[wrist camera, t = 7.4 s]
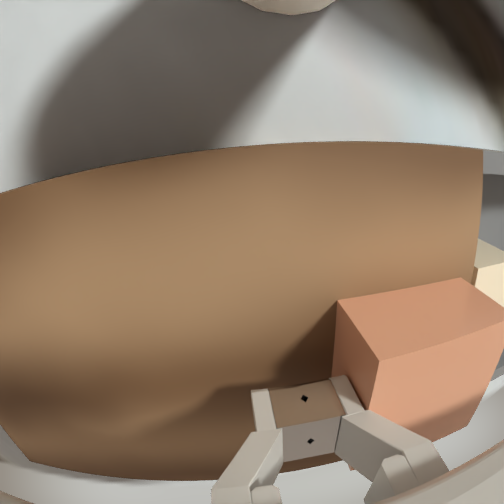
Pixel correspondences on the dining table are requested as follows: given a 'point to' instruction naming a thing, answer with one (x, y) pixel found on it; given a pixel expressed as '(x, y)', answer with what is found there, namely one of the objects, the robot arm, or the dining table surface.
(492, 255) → the cream block
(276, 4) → the foam cup
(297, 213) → the walnut platform
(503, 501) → the robot arm
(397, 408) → the salmon orange block
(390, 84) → the dining table surface
